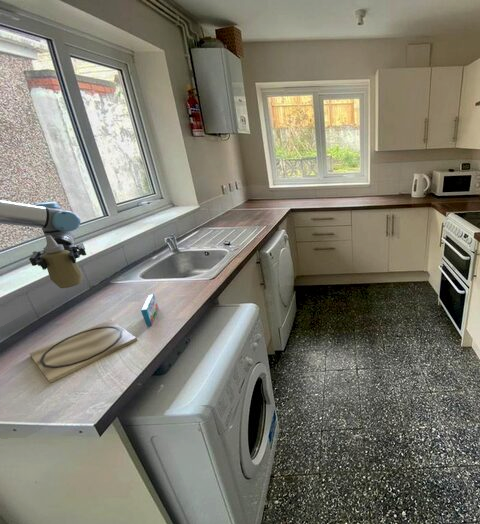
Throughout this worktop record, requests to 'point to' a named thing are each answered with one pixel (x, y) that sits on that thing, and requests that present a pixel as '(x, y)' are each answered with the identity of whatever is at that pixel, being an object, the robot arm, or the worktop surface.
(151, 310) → the printed carton box
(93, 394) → the worktop surface
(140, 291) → the worktop surface
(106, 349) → the cutting board
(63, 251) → the squeeze bottle
